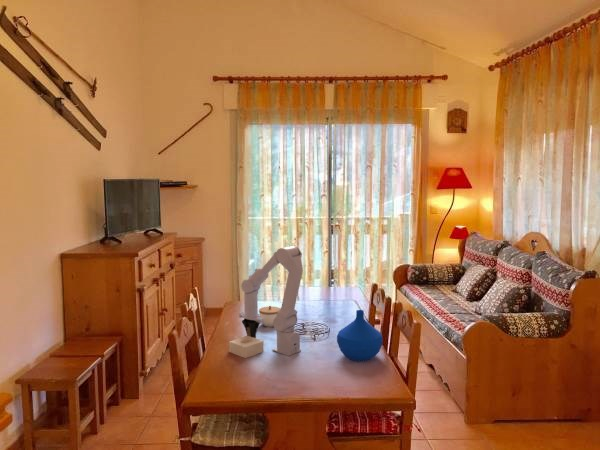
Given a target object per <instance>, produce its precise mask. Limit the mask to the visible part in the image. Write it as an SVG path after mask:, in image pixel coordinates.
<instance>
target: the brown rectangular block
mask: <svg viewBox="0 0 600 450" xmlns="http://www.w3.org/2000/svg"><path fill="white" fill-rule="evenodd" d="M246 336H250V337H251V333H250V327H247V333H246ZM253 338H256V339H257V335H256V336H255V337H253Z"/></svg>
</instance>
